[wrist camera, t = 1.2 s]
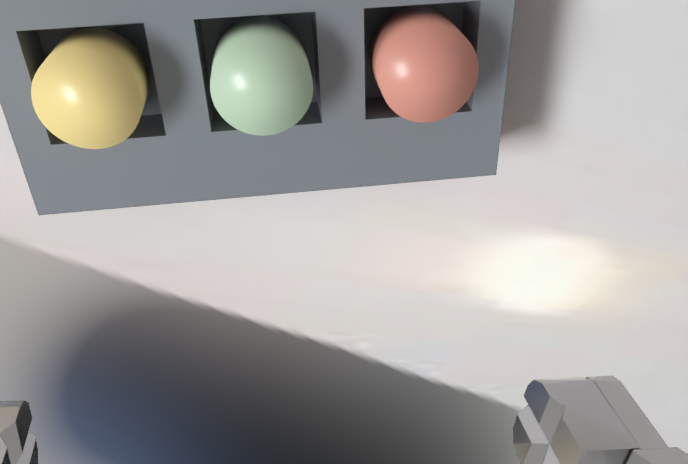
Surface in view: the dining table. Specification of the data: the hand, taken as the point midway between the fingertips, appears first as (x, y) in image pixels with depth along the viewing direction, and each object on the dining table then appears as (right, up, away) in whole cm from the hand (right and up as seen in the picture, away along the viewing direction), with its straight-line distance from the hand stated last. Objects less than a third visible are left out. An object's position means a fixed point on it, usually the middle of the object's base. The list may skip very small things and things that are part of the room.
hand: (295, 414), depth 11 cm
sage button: (-3, +11, +19) cm, 22 cm away
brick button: (+4, +11, +19) cm, 23 cm away
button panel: (-3, +12, +20) cm, 24 cm away
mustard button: (-10, +10, +18) cm, 23 cm away
